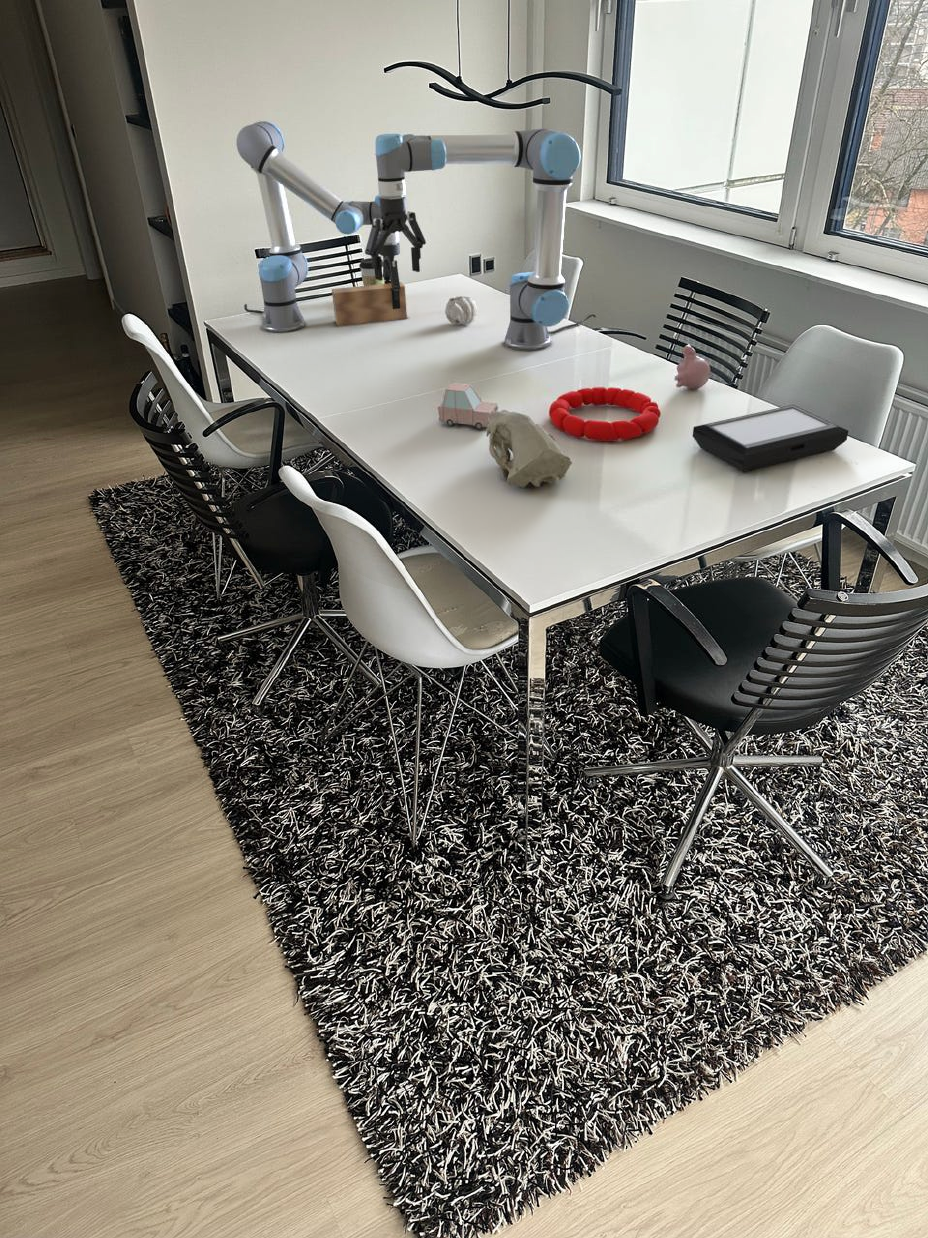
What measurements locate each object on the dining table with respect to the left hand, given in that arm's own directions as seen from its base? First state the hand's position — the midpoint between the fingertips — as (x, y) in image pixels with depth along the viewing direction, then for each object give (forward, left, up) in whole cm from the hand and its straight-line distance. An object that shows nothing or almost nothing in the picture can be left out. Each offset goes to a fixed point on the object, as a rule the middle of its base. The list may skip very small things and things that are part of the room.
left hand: (392, 303), depth 329 cm
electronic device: (+143, +79, -5) cm, 164 cm away
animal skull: (+140, +16, -5) cm, 141 cm away
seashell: (+16, +23, -5) cm, 29 cm away
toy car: (+108, +9, -5) cm, 108 cm away
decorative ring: (+116, +45, -5) cm, 124 cm away
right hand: (+64, -4, +25) cm, 69 cm away
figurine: (+98, +77, -5) cm, 125 cm away
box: (+1, -9, -5) cm, 10 cm away
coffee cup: (-25, -5, -5) cm, 26 cm away
